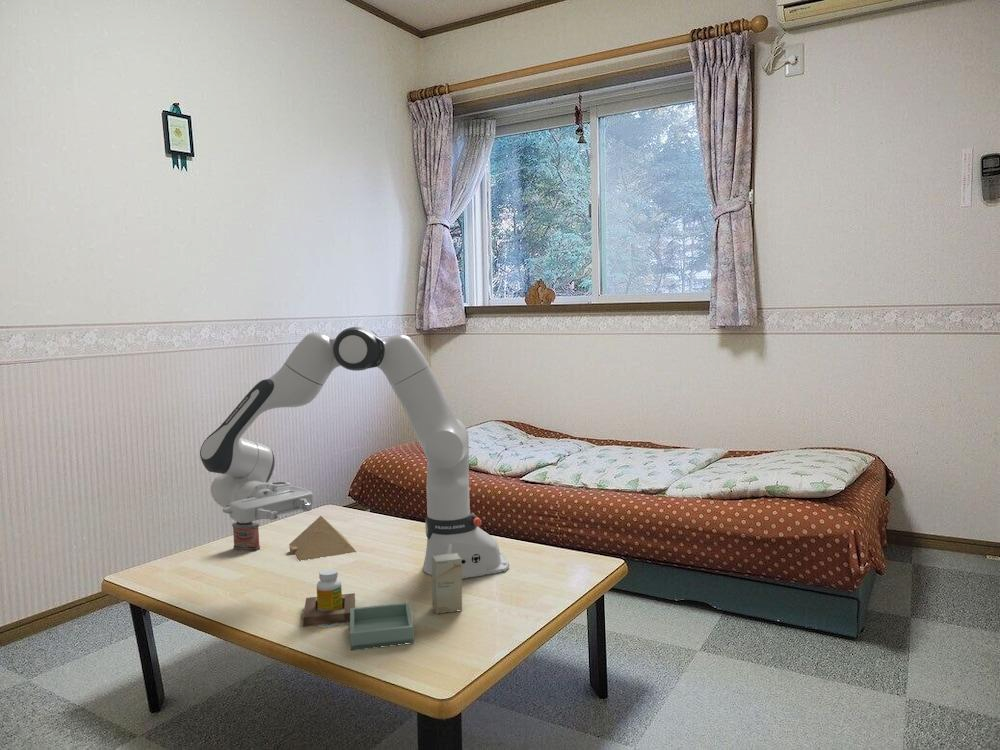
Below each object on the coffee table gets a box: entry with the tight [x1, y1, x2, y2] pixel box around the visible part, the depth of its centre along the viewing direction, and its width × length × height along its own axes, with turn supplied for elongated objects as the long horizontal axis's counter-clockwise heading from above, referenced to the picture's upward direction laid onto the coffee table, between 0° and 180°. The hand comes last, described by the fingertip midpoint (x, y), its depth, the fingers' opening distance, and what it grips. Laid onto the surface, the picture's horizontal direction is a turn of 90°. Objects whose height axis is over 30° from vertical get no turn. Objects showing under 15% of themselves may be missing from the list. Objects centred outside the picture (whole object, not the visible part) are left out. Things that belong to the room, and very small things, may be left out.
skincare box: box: [431, 553, 463, 615], centre depth 163 cm, size 6×4×12 cm
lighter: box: [231, 521, 261, 552], centre depth 208 cm, size 8×3×10 cm, turn 76°
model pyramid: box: [288, 515, 357, 562], centre depth 207 cm, size 17×17×10 cm
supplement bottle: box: [316, 568, 343, 612], centre depth 162 cm, size 5×5×10 cm
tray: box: [349, 602, 415, 651], centre depth 152 cm, size 13×13×4 cm
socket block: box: [302, 592, 356, 628], centre depth 162 cm, size 11×11×2 cm
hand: (292, 511), depth 168 cm, fingers open, 8 cm apart
